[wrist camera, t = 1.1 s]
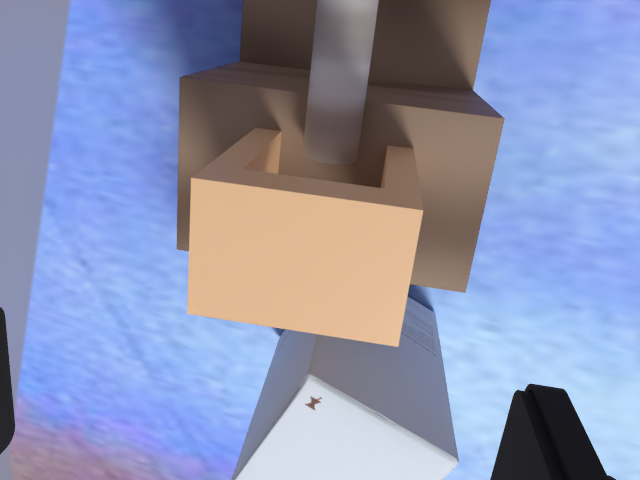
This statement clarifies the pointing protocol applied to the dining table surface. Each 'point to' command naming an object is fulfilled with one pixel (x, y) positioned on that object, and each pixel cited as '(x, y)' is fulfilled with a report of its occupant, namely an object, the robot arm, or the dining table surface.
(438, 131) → the rod slider mechanism
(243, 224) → the cord clip
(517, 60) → the dining table surface
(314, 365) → the supplement box
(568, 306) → the dining table surface
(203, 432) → the dining table surface
